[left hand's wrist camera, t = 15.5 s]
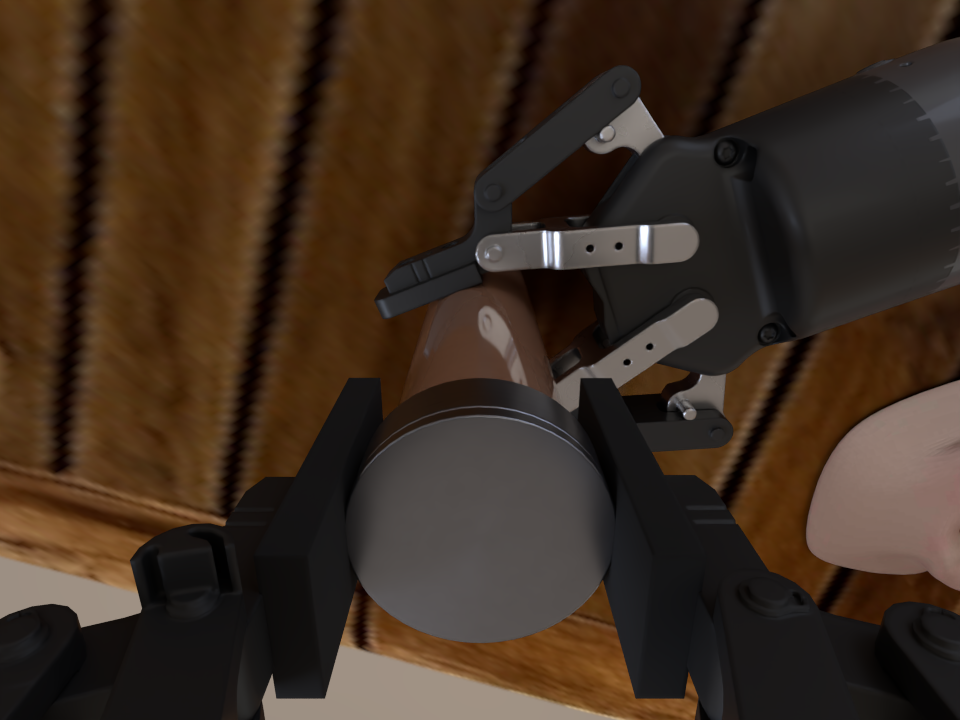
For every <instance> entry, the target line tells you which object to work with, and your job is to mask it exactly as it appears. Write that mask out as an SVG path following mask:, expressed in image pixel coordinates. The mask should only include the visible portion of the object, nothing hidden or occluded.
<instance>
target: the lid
mask: <svg viewBox="0 0 960 720" xmlns="http://www.w3.org/2000/svg"><path fill="white" fill-rule="evenodd" d="M615 521H616V511H615V505H614V502H613V499H612V496H611V493H610V490H609V487H608V484H607V482H606V479H605V476H604V474H603V471H602V468H601V465H600V463H599V460H598V457H597V454H596V452H595V449H594V446H593V444H592V442H591V440H590V438H589V436H588V434H587V433H586V431H585V430H584V429H583V427H582V426H581V424H580V423H579V422H578V421H577V420H576V418H575V417H574V416H573V415H572V414H571V413H570V412H569V411H568V410H567V409H565V408H564V407H563V406H562V405H560V404H559V403H558V402H557V401H555V400H554V399H552V398H550V397H549V396H547V395H545V394H544V393H542V392H540V391H537V390H535V389H533V388H531V387H528V386H525V385H522V384H518V383H515V382H512V381H506V380H500V379H490V378H471V379H460V380H455V381H450V382H445V383H442V384H439V385H436V386H433V387H430V388H428V389H426V390H424V391H421V392H419V393H417V394H415V395H414V396H412V397H411V398H409V399H407V400H406V401H404V402H403V403H401V404H400V405H399V406H398V407H397V408H396V409H394V410H393V411H392V412H391V413H390V414H389V415H388V416H387V417H386V418H385V419H384V421H383V422H382V423H381V424H380V425H379V427H378V428H377V430H376V431H375V433H374V434H373V436H372V438H371V440H370V442H369V444H368V446H367V449H366V451H365V454H364V457H363V459H362V462H361V465H360V468H359V470H358V473H357V476H356V479H355V481H354V484H353V487H352V490H351V492H350V495H349V499H348V502H347V506H346V510H345V526H346V537H347V547H348V556H349V560H350V563H351V566H352V569H353V571H354V573H355V574H356V576H357V578H358V580H359V582H360V583H361V585H362V586H363V587H364V589H365V590H366V592H367V593H368V594H369V595H370V596H371V597H372V598H373V600H374V601H375V602H376V603H377V604H378V605H379V606H381V607H382V608H383V609H384V610H385V611H387V612H388V613H389V614H390V615H392V616H393V617H395V618H396V619H398V620H399V621H401V622H403V623H404V624H406V625H408V626H410V627H412V628H414V629H416V630H418V631H421V632H424V633H427V634H429V635H432V636H436V637H440V638H444V639H448V640H453V641H460V642H472V643H489V642H501V641H507V640H513V639H517V638H521V637H525V636H529V635H532V634H534V633H537V632H539V631H542V630H545V629H547V628H549V627H551V626H553V625H554V624H556V623H558V622H560V621H562V620H563V619H565V618H566V617H568V616H569V615H570V614H572V613H573V612H574V611H576V610H577V609H578V608H579V607H580V606H581V605H583V604H584V603H585V602H586V601H587V599H588V598H589V597H590V596H591V595H592V594H593V593H594V592H595V590H596V589H597V587H598V586H599V584H600V583H601V581H602V580H603V578H604V576H605V574H606V572H607V570H608V568H609V566H610V563H611V560H612V553H613V543H614V532H615Z"/></svg>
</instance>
